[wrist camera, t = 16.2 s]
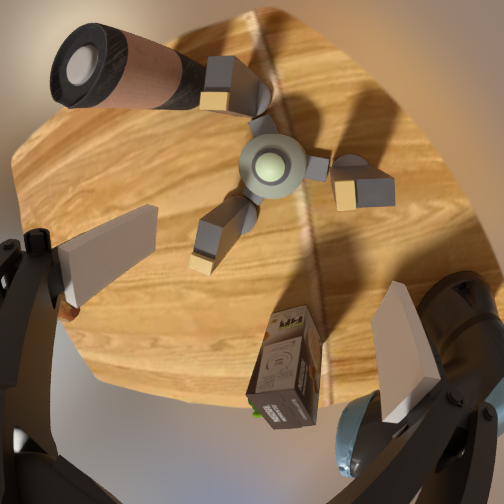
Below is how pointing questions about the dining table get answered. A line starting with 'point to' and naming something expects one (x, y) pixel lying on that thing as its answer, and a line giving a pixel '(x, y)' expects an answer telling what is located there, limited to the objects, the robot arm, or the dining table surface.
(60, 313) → the bread roll
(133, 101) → the travel mug
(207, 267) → the grey block tan end
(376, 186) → the dark grey upright block
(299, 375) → the coffee box
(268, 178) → the tribrach hub
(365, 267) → the dining table surface
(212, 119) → the dining table surface
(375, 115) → the dining table surface
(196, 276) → the dining table surface
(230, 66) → the grey post tan tip
